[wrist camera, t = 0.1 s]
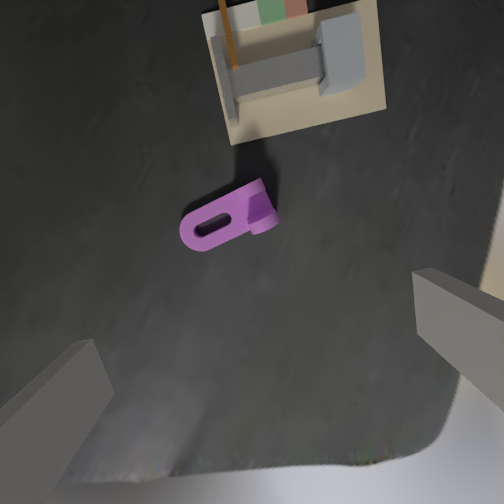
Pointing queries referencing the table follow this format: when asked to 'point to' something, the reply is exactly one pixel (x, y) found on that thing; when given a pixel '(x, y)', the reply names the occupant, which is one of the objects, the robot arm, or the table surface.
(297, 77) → the grey sliding clamp
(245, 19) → the beige mechanism board
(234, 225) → the bracket
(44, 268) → the table surface
